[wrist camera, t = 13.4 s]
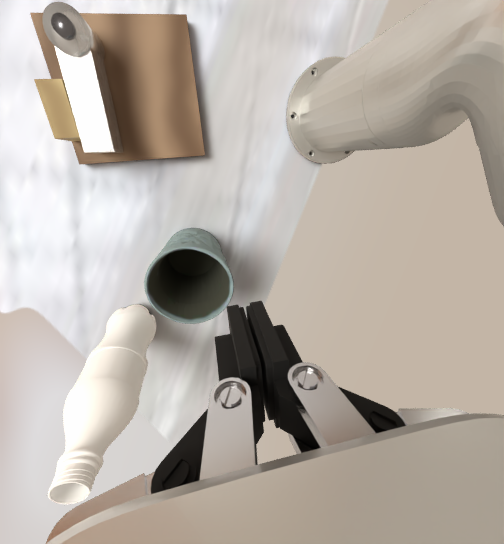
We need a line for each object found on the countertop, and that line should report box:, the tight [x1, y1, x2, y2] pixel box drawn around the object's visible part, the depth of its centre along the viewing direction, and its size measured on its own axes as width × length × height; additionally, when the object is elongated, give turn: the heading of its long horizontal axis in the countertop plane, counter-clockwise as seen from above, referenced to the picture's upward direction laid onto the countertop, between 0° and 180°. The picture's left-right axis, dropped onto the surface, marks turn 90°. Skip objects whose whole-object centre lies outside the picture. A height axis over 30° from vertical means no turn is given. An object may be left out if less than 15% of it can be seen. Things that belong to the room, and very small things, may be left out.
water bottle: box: [48, 304, 156, 504], centre depth 31 cm, size 7×7×25 cm
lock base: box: [30, 13, 205, 164], centre depth 28 cm, size 15×14×6 cm
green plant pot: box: [144, 228, 234, 324], centre depth 35 cm, size 10×10×12 cm
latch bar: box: [43, 2, 124, 153], centre depth 26 cm, size 12×4×5 cm, turn 2°
